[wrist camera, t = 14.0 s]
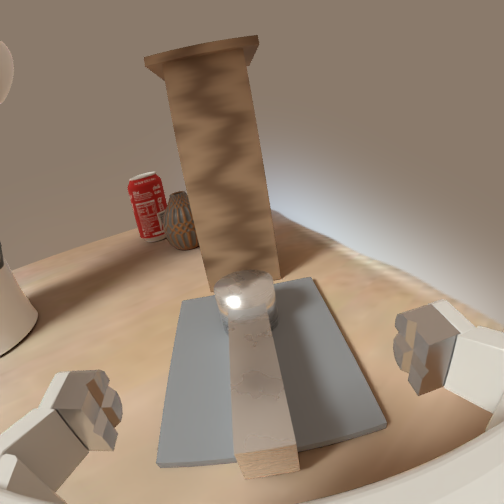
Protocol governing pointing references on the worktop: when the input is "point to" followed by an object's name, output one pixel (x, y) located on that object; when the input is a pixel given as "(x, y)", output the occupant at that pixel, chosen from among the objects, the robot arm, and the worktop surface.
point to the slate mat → (292, 371)
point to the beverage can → (148, 205)
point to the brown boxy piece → (220, 154)
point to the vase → (180, 222)
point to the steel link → (256, 376)
